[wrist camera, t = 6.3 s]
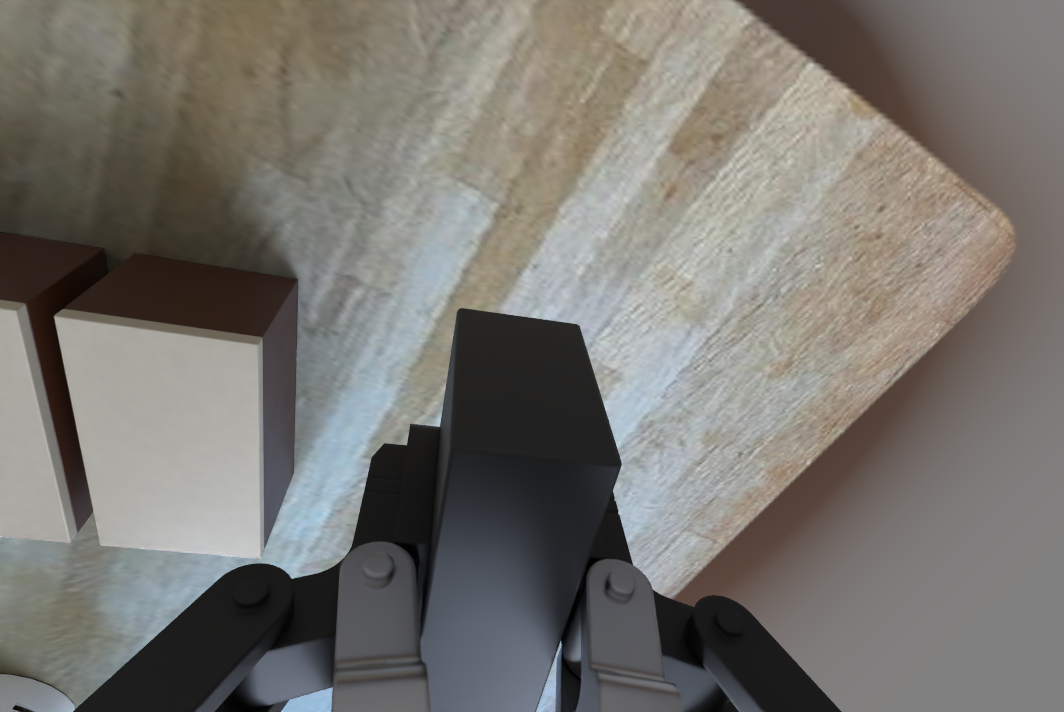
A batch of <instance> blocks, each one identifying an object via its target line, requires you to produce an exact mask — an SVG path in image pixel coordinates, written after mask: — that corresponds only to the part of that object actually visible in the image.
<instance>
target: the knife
mask: <svg viewBox="0 0 1064 712" xmlns="http://www.w3.org/2000/svg"><path fill="white" fill-rule="evenodd" d="M621 465H622V464H621V459H620V456H619V453H618V450H617V446H616V443H615V440H614V437H613V433H612V430H611V427H610V424H609V420H608V417H607V414H606V411H605V407H604V404H603V401H602V398H601V394H600V391H599V388H598V385H597V381H596V378H595V375H594V372H593V368H592V365H591V362H590V359H589V355H588V352H587V349H586V346H585V342H584V339H583V336H582V333H581V329H580V326H579V325H577V324H572V323H564V322H557V321H550V320H543V319H536V318H528V317H521V316H514V315H507V314H500V313H493V312H485V311H478V310H471V309H464V308H460V309H459V310H458V311H457V316H456V323H455V330H454V336H453V343H452V350H451V357H450V363H449V370H448V377H447V383H446V390H445V397H444V404H443V410H442V417H441V424H440V439H439V451H438V463H437V475H436V488H435V500H434V512H433V524H432V536H431V547H430V553H429V559H428V565H427V572H426V578H425V584H424V591H423V597H422V603H421V610H420V616H419V629H420V644H421V657H422V662H425V663H426V666H427V671H428V680H429V693H430V706H431V712H536V710H537V707H538V704H539V701H540V698H541V696H542V693H543V690H544V687H545V684H546V681H547V678H548V675H549V673H550V670H551V667H552V664H553V661H554V658H555V655H556V652H557V649H558V647H559V644H560V641H561V638H562V635H563V632H564V629H565V626H566V624H567V621H568V618H569V615H570V612H571V609H572V606H573V603H574V601H575V598H576V595H577V592H578V589H579V586H580V583H581V580H582V578H583V575H584V572H585V569H586V566H587V563H588V560H589V557H590V555H591V552H592V549H593V546H594V543H595V540H596V537H597V534H598V532H599V529H600V526H601V523H602V520H603V517H604V514H605V511H606V509H607V506H608V503H609V500H610V497H611V494H612V491H613V488H614V486H615V483H616V480H617V477H618V474H619V471H620V468H621Z"/></svg>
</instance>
